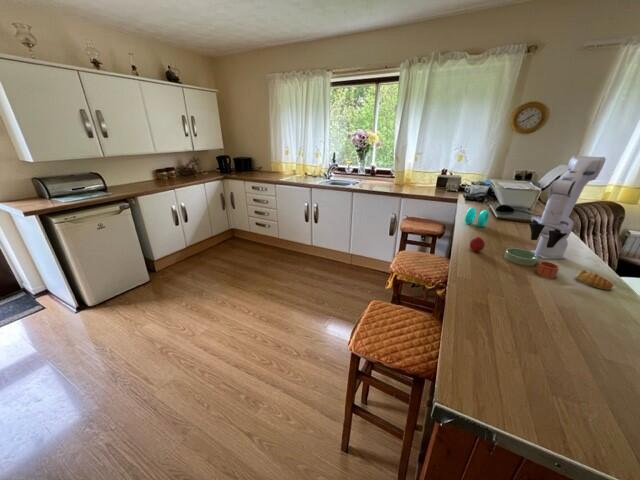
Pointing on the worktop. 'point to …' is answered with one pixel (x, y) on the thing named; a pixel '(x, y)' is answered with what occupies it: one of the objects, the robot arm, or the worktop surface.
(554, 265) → the small bowl
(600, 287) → the pastry
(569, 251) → the worktop surface
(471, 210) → the pair of cyan ovals
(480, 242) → the onion
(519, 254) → the big bowl
